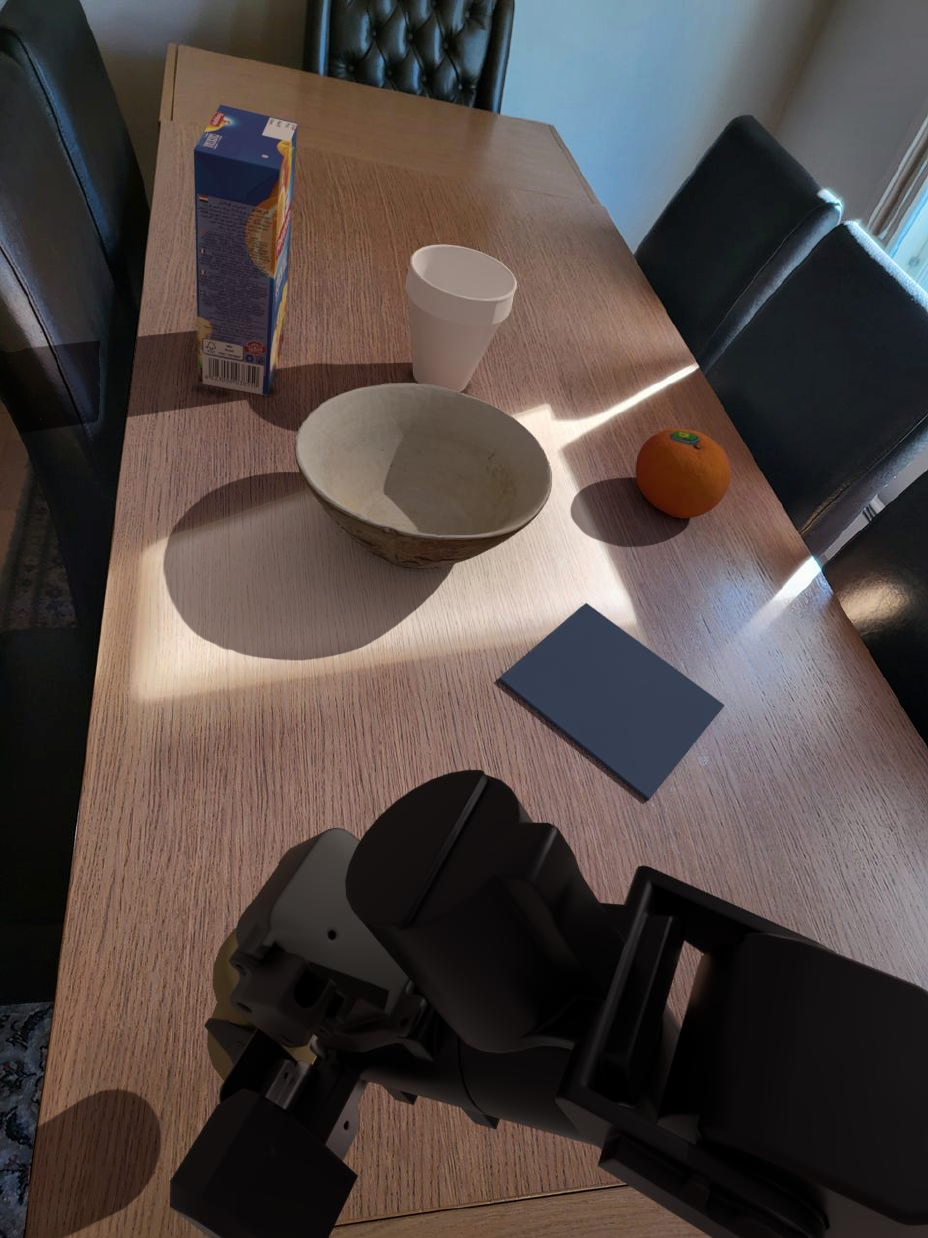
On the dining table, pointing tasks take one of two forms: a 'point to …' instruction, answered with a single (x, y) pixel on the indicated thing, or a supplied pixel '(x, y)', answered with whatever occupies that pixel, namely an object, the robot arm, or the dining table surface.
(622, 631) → the book
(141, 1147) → the dining table surface
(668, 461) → the fruit
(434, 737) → the dining table surface
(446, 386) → the cup
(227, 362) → the blue cardboard box
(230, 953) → the cork
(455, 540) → the bowl
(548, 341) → the dining table surface
